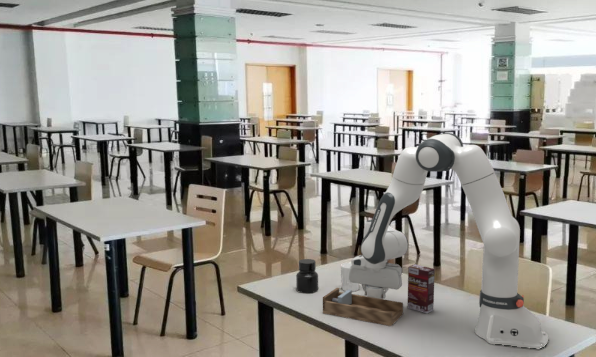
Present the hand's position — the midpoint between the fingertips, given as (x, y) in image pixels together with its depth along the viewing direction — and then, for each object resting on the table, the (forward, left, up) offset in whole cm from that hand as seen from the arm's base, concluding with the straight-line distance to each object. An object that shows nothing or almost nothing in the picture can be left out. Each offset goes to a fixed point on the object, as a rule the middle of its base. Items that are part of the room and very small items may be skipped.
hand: (374, 296), depth 221 cm
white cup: (+15, -11, -3) cm, 19 cm away
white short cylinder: (0, 0, -3) cm, 3 cm away
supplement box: (-17, -2, -3) cm, 17 cm away
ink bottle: (+30, -2, -3) cm, 30 cm away
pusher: (+9, +12, -1) cm, 15 cm away
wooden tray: (0, +12, -3) cm, 12 cm away
